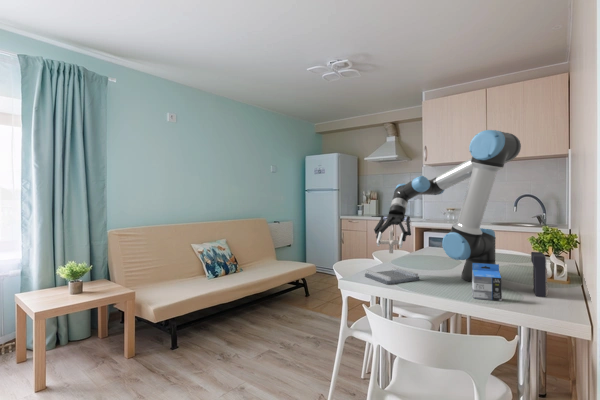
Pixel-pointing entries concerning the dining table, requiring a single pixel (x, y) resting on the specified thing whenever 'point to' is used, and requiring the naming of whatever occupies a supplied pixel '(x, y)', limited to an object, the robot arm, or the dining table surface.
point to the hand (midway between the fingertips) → (388, 245)
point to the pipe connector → (390, 242)
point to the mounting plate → (392, 276)
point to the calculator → (539, 274)
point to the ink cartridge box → (486, 282)
